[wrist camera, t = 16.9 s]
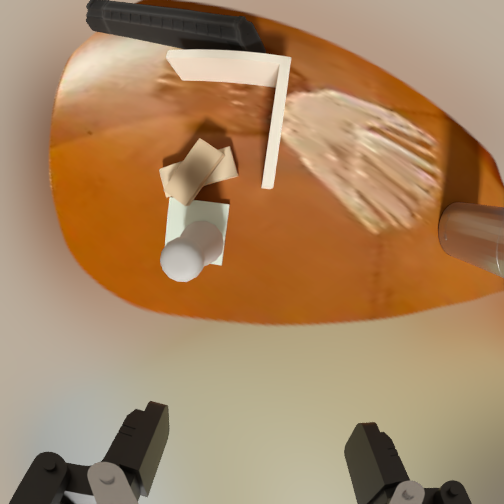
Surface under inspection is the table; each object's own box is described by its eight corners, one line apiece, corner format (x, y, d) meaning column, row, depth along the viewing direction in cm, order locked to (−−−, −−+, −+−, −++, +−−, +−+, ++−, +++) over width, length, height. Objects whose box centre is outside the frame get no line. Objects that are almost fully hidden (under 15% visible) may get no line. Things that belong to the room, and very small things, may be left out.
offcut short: (203, 141, 34) (199, 138, 32) (224, 155, 35) (222, 153, 33) (168, 190, 36) (163, 190, 34) (189, 205, 36) (185, 206, 34)
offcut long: (231, 149, 37) (229, 146, 34) (238, 176, 37) (237, 175, 35) (164, 170, 37) (158, 169, 35) (171, 196, 38) (166, 197, 36)
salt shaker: (221, 264, 39) (203, 298, 26) (181, 255, 39) (147, 284, 26) (229, 223, 38) (214, 238, 25) (188, 214, 37) (154, 225, 25)
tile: (229, 204, 38) (229, 204, 37) (222, 264, 39) (221, 265, 39) (170, 197, 38) (169, 197, 37) (165, 255, 39) (164, 256, 39)
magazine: (287, 30, 24) (77, -28, 14) (276, 49, 25) (62, -11, 15) (251, 69, 40) (102, 20, 30) (243, 84, 41) (93, 33, 30)
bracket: (285, 81, 34) (291, 57, 26) (270, 189, 37) (273, 187, 29) (183, 73, 34) (167, 50, 26) (164, 176, 37) (142, 173, 29)
